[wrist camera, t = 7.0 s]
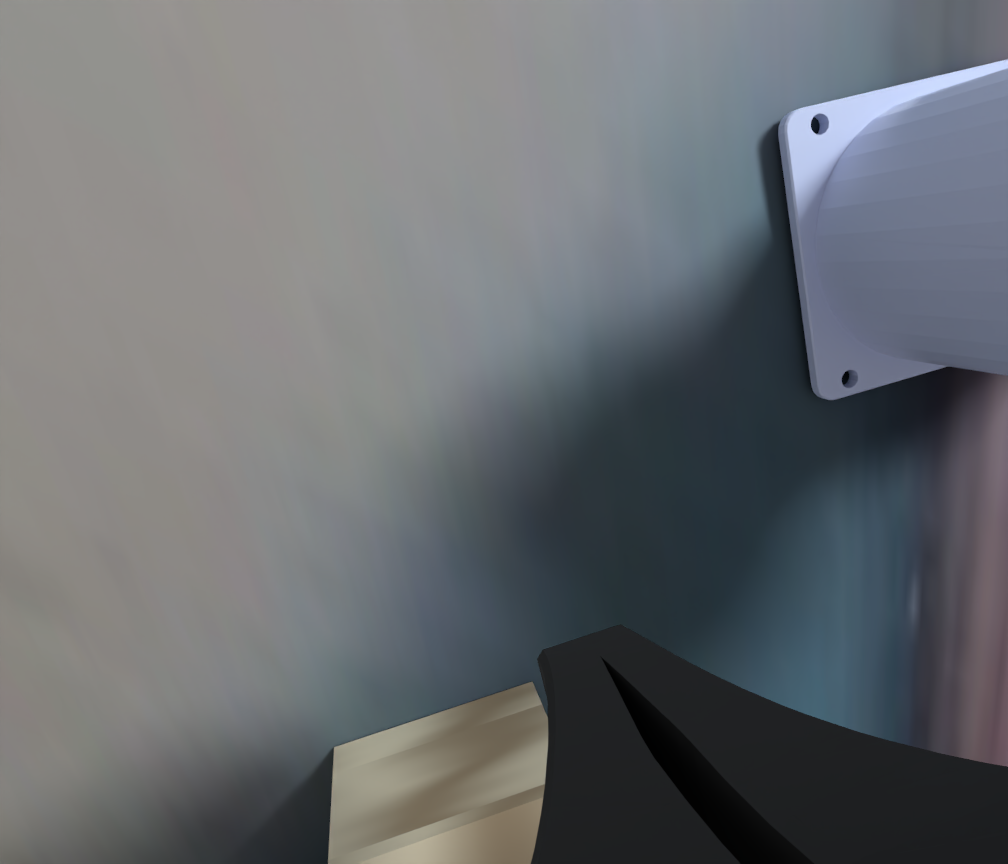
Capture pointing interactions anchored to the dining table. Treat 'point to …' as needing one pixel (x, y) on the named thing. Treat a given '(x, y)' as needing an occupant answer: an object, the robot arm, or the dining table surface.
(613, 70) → the dining table surface
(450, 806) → the hitch block
